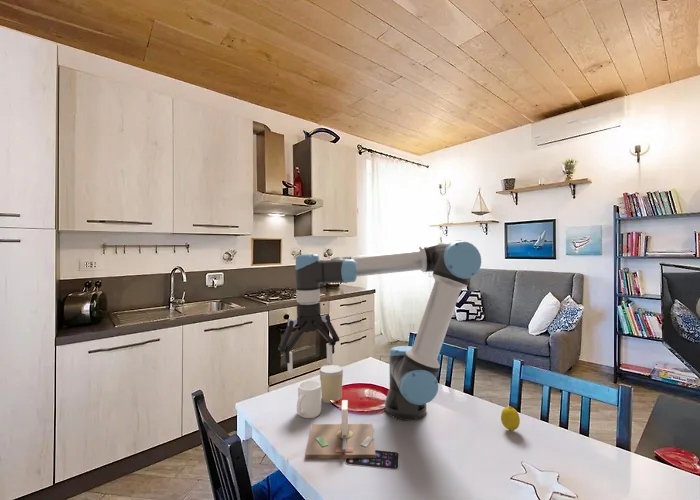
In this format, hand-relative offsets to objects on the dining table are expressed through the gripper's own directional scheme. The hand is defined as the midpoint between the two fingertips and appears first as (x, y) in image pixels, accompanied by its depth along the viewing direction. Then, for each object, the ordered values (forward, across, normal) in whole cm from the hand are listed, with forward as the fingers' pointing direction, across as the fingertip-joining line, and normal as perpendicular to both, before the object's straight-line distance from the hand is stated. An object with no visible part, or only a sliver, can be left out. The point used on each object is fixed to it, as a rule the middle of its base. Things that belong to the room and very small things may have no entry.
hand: (310, 368), depth 106 cm
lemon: (+23, -57, +30) cm, 69 cm away
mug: (+22, -3, -12) cm, 25 cm away
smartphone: (+23, -10, +20) cm, 32 cm away
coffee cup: (+22, -16, -20) cm, 34 cm away
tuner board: (+22, -6, +8) cm, 24 cm away
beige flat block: (+20, -6, +10) cm, 23 cm away
